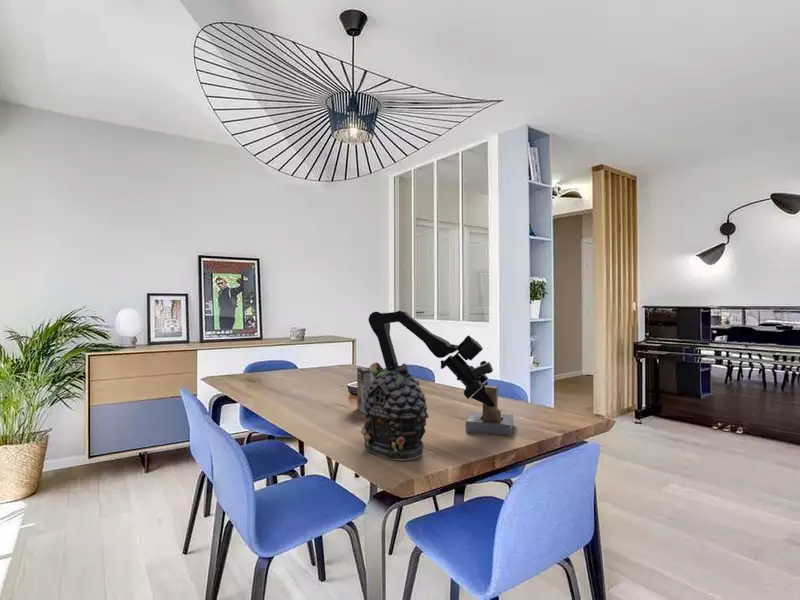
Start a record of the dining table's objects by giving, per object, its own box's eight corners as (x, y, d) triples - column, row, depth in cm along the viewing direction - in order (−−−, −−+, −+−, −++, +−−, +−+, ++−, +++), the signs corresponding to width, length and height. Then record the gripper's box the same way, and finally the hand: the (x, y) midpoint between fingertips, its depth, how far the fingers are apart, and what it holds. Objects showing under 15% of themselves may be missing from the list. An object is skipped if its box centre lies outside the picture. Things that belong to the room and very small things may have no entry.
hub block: (465, 432, 145) (465, 421, 145) (472, 421, 158) (472, 411, 158) (510, 436, 140) (510, 425, 140) (513, 425, 154) (513, 414, 154)
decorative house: (348, 450, 126) (349, 361, 126) (385, 438, 137) (385, 357, 138) (404, 468, 112) (405, 368, 112) (440, 453, 123) (440, 362, 124)
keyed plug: (482, 425, 148) (482, 387, 148) (484, 422, 152) (484, 385, 152) (499, 426, 146) (500, 388, 146) (501, 423, 150) (501, 386, 150)
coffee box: (356, 408, 178) (356, 367, 178) (372, 407, 180) (372, 367, 180) (361, 413, 169) (361, 370, 169) (378, 412, 171) (378, 370, 171)
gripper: (474, 356, 142) (510, 393, 138) (482, 351, 160) (513, 384, 156) (449, 380, 144) (484, 417, 141) (460, 372, 162) (490, 405, 158)
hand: (494, 404), depth 149 cm, fingers closed on keyed plug, 4 cm apart
